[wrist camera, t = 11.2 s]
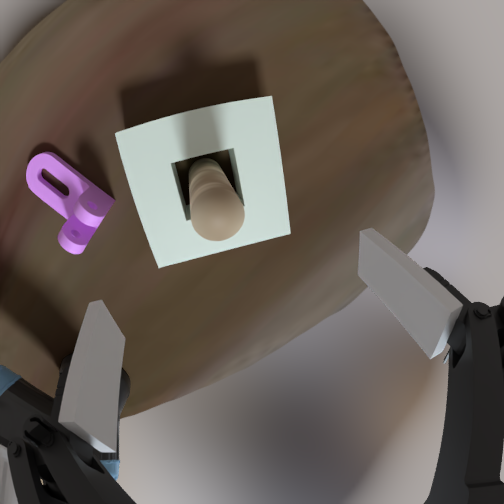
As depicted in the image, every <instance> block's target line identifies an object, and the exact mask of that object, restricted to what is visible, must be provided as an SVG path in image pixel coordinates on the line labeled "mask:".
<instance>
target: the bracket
mask: <svg viewBox="0 0 504 504" xmlns="http://www.w3.org/2000/svg"><path fill="white" fill-rule="evenodd" d="M43 168H44V169H46V170H47V171H49V172H50V173H51V174H52V175H53V176H55V177H56V178H57V179H59V180H60V181H61V182H62V183H64V184H65V185H66V186H67V187H68V188H69V196H65V195H64V194H62V193H61V192H60V191H58V190H57V189H56V188H55V187H53V186H52V185H51V184H50V183H48V182H47V181H46V180H45V179H44V178H43V177H42V174H41V172H42V169H43ZM26 178H27V183H28V186H29V188H30V189H31V191H32V192H33V193H34V194H36V195H37V196H38V197H39V198H41V199H42V200H43V201H44V202H46V203H47V204H48V205H49V206H51V207H52V208H53V209H55V210H56V211H57V212H58V213H60V214H61V215H62V216H64V217H65V218H66V219H67V221H66V223H65V224H64V225H63V227H62V229H61V231H60V233H59V235H58V241H59V243H60V245H61V246H62V247H63V248H64V249H65V250H66V251H68V252H70V253H73V254H80V253H82V252H83V250H84V249H85V247H86V245H87V244H88V242H89V240H90V239H91V237H92V236H93V234H94V232H95V231H96V229H97V228H98V226H99V224H100V223H101V221H102V220H103V218H104V217H105V215H106V214H107V212H108V211H109V209H110V208H111V206H112V205H113V203H114V202H115V200H114V199H113V198H112V197H110V196H109V195H108V194H106V193H105V192H104V191H102V190H101V189H100V188H98V187H97V186H96V185H94V184H93V183H92V182H91V181H89V180H88V179H87V178H85V177H84V176H83V175H81V174H80V173H79V172H78V171H76V170H75V169H74V168H73V167H71V166H70V165H69V164H67V163H66V162H65V161H64V160H62V159H61V158H60V157H59V156H57V155H56V154H54V153H52V152H43V153H41V154H38V155H36V156H35V157H34V158H33V159H32V160H31V161H30V163H29V165H28V167H27V172H26Z"/></svg>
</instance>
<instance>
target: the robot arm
mask: <svg viewBox="0 0 504 504" xmlns="http://www.w3.org/2000/svg"><path fill="white" fill-rule="evenodd" d="M358 276H359V277H360V278H361V279H362V280H363V281H364V282H365V283H366V284H367V286H368V287H369V288H370V289H371V290H372V291H373V292H374V293H375V294H376V296H377V297H378V298H379V299H380V300H381V301H382V302H383V303H384V305H385V306H386V307H387V308H388V309H389V310H390V311H391V313H392V314H393V315H394V316H395V317H396V318H397V320H398V321H399V322H400V323H401V324H402V325H403V327H404V328H405V329H406V330H407V331H408V333H409V334H410V335H411V336H412V337H413V339H414V340H415V341H416V342H417V343H418V345H419V346H420V347H421V348H422V350H423V351H424V352H425V353H426V355H427V356H428V357H429V358H430V359H432V358H433V357H435V356H436V355H438V354H440V353H441V352H442V351H443V349H444V347H445V345H446V343H448V344H449V345H450V346H451V347H450V349H449V351H448V353H447V355H446V357H445V358H444V362H443V363H446V361H447V359H448V358H449V373H448V392H447V404H446V414H445V422H444V429H443V436H442V442H441V448H440V453H439V458H438V463H437V467H436V472H435V476H434V479H433V483H432V487H431V491H430V494H429V496H428V498H427V500H426V501H425V503H424V504H504V483H503V482H502V481H501V480H500V470H501V462H502V453H503V442H504V297H503V298H502V300H501V303H500V305H497V306H493V307H489V306H488V305H486V304H484V303H481V302H474V303H471V302H470V301H469V300H468V299H467V298H466V297H464V296H463V295H462V294H461V293H460V292H459V291H458V290H457V289H456V288H455V287H453V286H452V285H450V284H449V282H448V281H447V280H444V278H443V277H442V276H441V275H440V274H439V273H437V272H436V271H434V270H432V269H430V268H428V267H426V268H422V267H420V266H419V265H418V264H417V263H416V262H415V261H413V260H412V259H411V258H409V256H407V255H406V254H405V253H404V252H402V251H401V250H400V249H399V248H397V247H396V246H395V245H394V244H392V243H391V242H390V241H389V240H387V239H386V238H385V237H383V236H382V235H381V234H380V233H378V232H377V231H376V230H374V229H373V228H369V229H365V230H362V231H360V243H359V263H358ZM124 345H125V337H124V336H123V334H122V332H121V331H120V329H119V328H118V326H117V324H116V323H115V321H114V320H113V318H112V316H111V315H110V313H109V311H108V309H107V308H106V306H105V304H104V303H103V301H102V300H98V301H95V302H91V303H89V305H88V308H87V311H86V314H85V317H84V320H83V323H82V326H81V329H80V332H79V336H78V339H77V342H76V346H75V349H74V353H73V354H70V355H68V356H66V357H65V358H64V359H63V361H62V363H61V367H60V371H59V376H60V377H59V381H58V385H57V388H58V389H56V394H55V395H56V397H55V398H52V397H51V396H49V395H47V394H46V393H44V392H42V391H41V390H39V389H38V388H36V387H35V386H33V385H32V384H30V383H29V382H27V381H26V380H24V379H23V378H22V377H21V376H20V375H17V374H16V373H14V372H12V371H11V370H9V369H8V368H6V367H5V366H3V365H0V504H136V503H135V502H134V501H133V500H132V499H131V497H130V496H129V495H128V494H127V493H126V492H125V491H124V490H123V489H122V487H121V486H120V485H119V484H118V483H117V482H116V480H117V478H118V473H119V463H120V460H119V421H120V414H121V411H122V409H123V407H124V405H125V402H126V400H127V398H128V396H129V394H130V379H129V377H128V375H127V374H126V372H125V371H124V370H123V369H122V360H123V352H124ZM40 479H42V480H43V485H42V483H41V480H40Z"/></svg>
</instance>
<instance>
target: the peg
mask: <svg viewBox="0 0 504 504" xmlns="http://www.w3.org/2000/svg"><path fill="white" fill-rule="evenodd" d="M189 194H190V211H191V222H192V226H193V228H194V230H195V231H196V232H197V233H198V234H199V235H200V236H201V237H203V238H205V239H207V240H210V241H222V240H226V239H228V238H231V237H232V236H234V235H235V234H236V233H237V232H238V231H239V230H240V228H241V227H242V225H243V222H244V218H245V211H244V207H243V204H242V203H241V201H240V199H239V198H238V196H237V194H236V193H235V191H234V189H233V187H232V186H231V184H230V182H229V181H228V179H227V177H226V176H225V174H224V172H223V171H222V169H221V167H220V166H219V164H218V163H217V162H216V161H214V160H212V159H209V158H203V159H199V160H197V161H196V162H194V163H193V164H192V166H191V167H190V170H189Z"/></svg>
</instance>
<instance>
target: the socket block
mask: <svg viewBox="0 0 504 504" xmlns="http://www.w3.org/2000/svg"><path fill="white" fill-rule="evenodd" d="M115 136H116V140H117V144H118V147H119V151H120V155H121V158H122V162H123V165H124V169H125V172H126V175H127V179H128V182H129V185H130V188H131V192H132V195H133V198H134V201H135V204H136V207H137V210H138V213H139V216H140V219H141V222H142V225H143V227H144V230H145V233H146V236H147V238H148V241H149V244H150V246H151V249H152V252H153V254H154V257H155V260H156V262H157V265H158V267H159V268H160V267H164V266H168V265H172V264H176V263H179V262H183V261H187V260H191V259H195V258H198V257H202V256H206V255H210V254H214V253H217V252H221V251H225V250H229V249H233V248H237V247H240V246H244V245H248V244H252V243H256V242H260V241H264V240H268V239H272V238H275V237H279V236H283V235H287V234H290V225H289V216H288V207H287V199H286V191H285V183H284V176H283V168H282V161H281V153H280V146H279V140H278V133H277V126H276V120H275V113H274V107H273V101H272V96H268V97H260V98H253V99H247V100H241V101H235V102H229V103H224V104H219V105H214V106H209V107H204V108H200V109H196V110H191V111H187V112H183V113H179V114H175V115H172V116H168V117H164V118H161V119H157V120H154V121H151V122H147V123H144V124H141V125H138V126H135V127H132V128H129V129H126V130H123V131H120V132H117V133H115ZM226 149H228V150H229V156H230V161H231V166H232V171H233V176H234V181H235V186H236V191H237V193H236V194H237V196H238V198H239V199H240V201H241V203H242V204H243V207H244V211H245V218H244V222H243V225H242V227H241V228H240V230H239V231H238V232H237V233H236V234H235V235H234V236H232V237H231V238H228V239H226V240H222V241H210V240H207V239H205V238H203V237H201V236H200V235H199V234H198V233H197V232H196V231H195V230H194V228H193V226H192V222H191V211H190V205H186V204H185V200H184V196H183V193H182V189H181V185H180V181H179V177H178V174H177V170H176V166H175V162H177V161H181V160H185V159H189V158H193V157H197V156H201V155H205V154H209V153H213V152H217V151H222V150H226Z"/></svg>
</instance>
